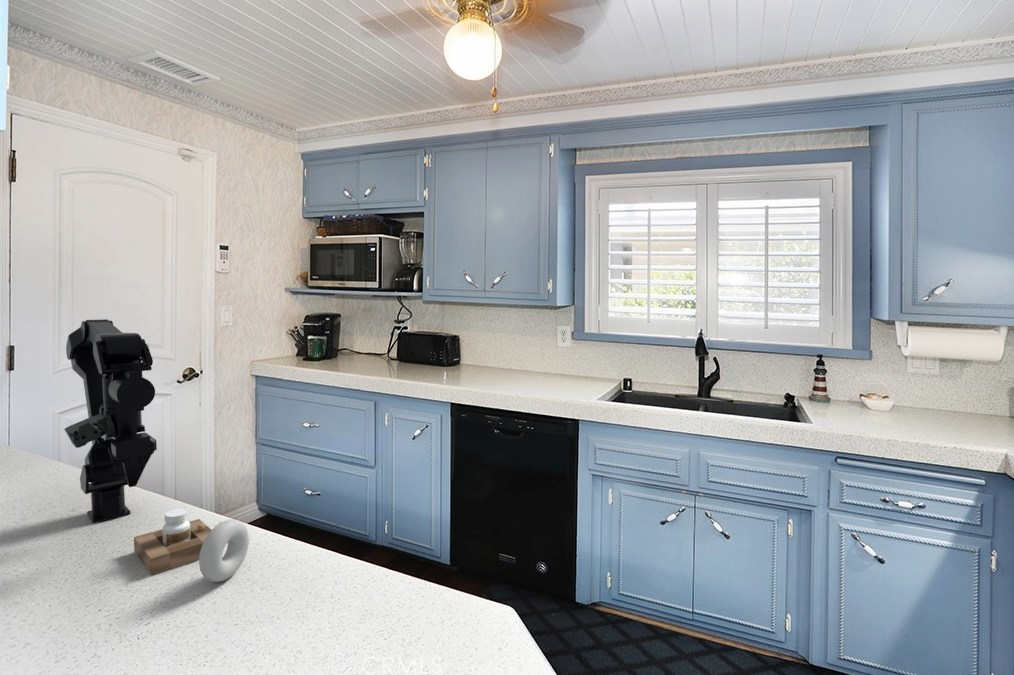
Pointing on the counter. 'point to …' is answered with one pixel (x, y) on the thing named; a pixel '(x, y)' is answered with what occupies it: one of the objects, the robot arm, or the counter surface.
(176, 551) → the socket block
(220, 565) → the donut
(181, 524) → the pill bottle
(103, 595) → the counter surface
